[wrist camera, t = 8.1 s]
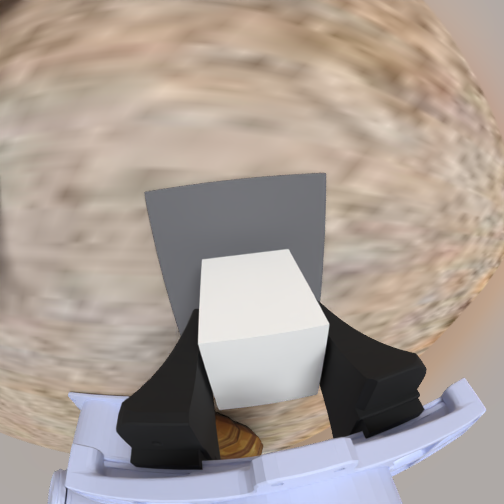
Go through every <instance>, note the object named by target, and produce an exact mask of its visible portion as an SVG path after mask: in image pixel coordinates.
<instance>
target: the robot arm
mask: <svg viewBox="0 0 504 504" xmlns="http://www.w3.org/2000/svg"><path fill="white" fill-rule="evenodd" d="M316 300H317V299H316ZM317 302H318V304H319V306H320V307H321V309H322V311H323V313H324V315H325V317H326V319H327V321H328V322H329V331H328V337H327V344H326V350H325V356H324V362H323V368H322V373H321V378H320V387H321V391H322V394H323V398H324V401H325V405H326V409H327V413H328V417H329V421H330V425H331V429H332V434H333V439H329V440H325V441H322V442H318V443H314V444H310V445H305V446H301V447H296V448H291V449H286V450H281V451H275V452H271V453H267V454H262V455H260V456H254V457H246V458H237V459H225V460H221V457H220V451H219V444H218V437H217V429H216V420H215V410H214V399H213V391H212V388H211V385H210V382H209V378H208V375H207V372H206V369H205V365H204V362H203V359H202V355H201V352H200V349H199V345H198V329H199V309H194V310H193V311H192V314H191V317H190V319H189V321H188V323H187V325H186V328H185V330H184V331H183V333H182V335H181V337H180V339H179V341H178V342H177V344H176V346H175V347H174V349H173V351H172V352H171V354H170V355H169V357H168V358H167V359H166V361H165V362H164V363H163V365H162V366H161V367H160V368H159V370H158V371H157V372H156V373H155V374H154V375H153V376H152V377H151V379H149V380H148V381H147V382H146V383H145V384H144V385H143V386H142V387H141V388H140V389H139V390H138V391H137V392H135V393H134V394H133V395H131V396H130V397H128V396H109V395H95V394H84V393H74V392H69V393H68V396H69V398H70V399H71V400H72V401H73V402H74V403H75V405H76V406H77V407H78V408H79V409H80V410H81V412H80V415H79V419H78V423H77V427H76V431H75V435H74V440H73V444H72V448H71V452H70V457H69V463H68V468H67V469H66V470H62V469H59V470H57V471H55V472H54V473H53V476H52V479H51V484H50V489H49V495H48V504H402V501H401V499H400V496H399V494H398V491H397V488H396V486H395V484H394V481H393V479H392V476H394V475H396V474H398V473H400V472H402V471H404V470H406V469H407V468H410V467H411V466H413V465H415V464H417V463H418V462H420V461H422V460H424V459H425V458H427V457H429V456H430V455H432V454H434V453H435V452H437V451H438V450H440V449H441V448H443V447H445V446H446V445H448V444H449V443H451V442H452V441H454V440H455V439H456V438H458V437H460V436H461V435H462V434H463V433H465V432H466V431H467V430H468V429H469V428H470V427H471V426H472V425H473V424H474V423H475V422H476V421H477V420H478V419H479V418H480V417H481V416H482V415H483V414H484V413H485V412H486V408H485V407H484V405H483V404H482V402H481V401H480V399H479V398H478V396H477V395H476V394H475V392H474V390H473V389H472V387H471V386H470V385H469V383H468V382H467V381H466V379H465V378H463V379H460V380H459V381H457V382H455V383H454V384H452V385H450V386H449V387H448V388H447V389H446V390H445V391H444V392H443V394H442V396H441V397H439V398H437V399H435V400H434V401H432V402H430V403H428V404H426V405H424V406H422V404H421V402H420V401H419V399H418V397H419V396H420V394H419V392H418V390H417V388H418V387H419V385H420V384H421V382H422V380H423V379H424V377H425V374H426V367H425V365H424V364H423V363H422V361H421V359H420V358H419V357H418V356H417V354H415V353H412V352H408V351H404V350H400V349H397V348H394V347H391V346H388V345H386V344H383V343H381V342H378V341H376V340H374V339H372V338H370V337H368V336H366V335H364V334H362V333H361V332H359V331H357V330H355V329H354V328H352V327H351V326H349V325H348V324H346V323H345V322H344V321H342V320H341V319H339V318H338V317H337V316H336V315H334V314H333V313H332V312H331V311H329V310H328V309H327V308H326V307H325V306H324V305H322V304H321V303H320V302H319V301H318V300H317Z"/></svg>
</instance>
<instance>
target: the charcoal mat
mask: <svg viewBox="0 0 504 504" xmlns="http://www.w3.org/2000/svg"><path fill="white" fill-rule="evenodd" d="M145 199H146V204H147V209H148V214H149V219H150V223H151V228H152V233H153V237H154V241H155V246H156V250H157V254H158V258H159V262H160V266H161V270H162V274H163V278H164V281H165V285H166V289H167V292H168V296H169V299H170V303H171V306H172V310H173V313H174V316H175V319H176V323H177V326H178V329H179V332H180V335H182V333H183V331H184V330H185V328H186V325H187V323H188V321H189V319H190V317H191V314H192V311H193V310H194V309H199V304H200V285H201V268H202V259H210V258H218V257H226V256H235V255H243V254H251V253H259V252H268V251H276V250H284V249H289V251H290V253H291V255H292V256H293V258H294V260H295V262H296V263H297V265H298V267H299V269H300V271H301V272H302V274H303V276H304V278H305V280H306V282H307V283H308V285H309V287H310V289H311V291H312V293H313V294H314V296H315V298H316V299H317V300H318V301H319V302H320V297H321V285H322V272H323V257H324V239H325V213H326V173H311V174H293V175H278V176H266V177H254V178H244V179H234V180H225V181H216V182H208V183H200V184H193V185H186V186H179V187H172V188H166V189H159V190H153V191H147V192H145Z"/></svg>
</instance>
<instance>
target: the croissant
mask: <svg viewBox="0 0 504 504" xmlns="http://www.w3.org/2000/svg"><path fill="white" fill-rule="evenodd" d="M215 420H216V429H217V437H218V444H219V451H220V457H221V460H225V459H237V458H246V457H254V456H260V455H261V453H262V449H263V444H262V443H261V440H260V439H259V437H258V436H257V435H256V434H255V433H254V432H253V431H252V430H251V429H250V428H249V427H247V426H244V425H242V424H239V423H237V422H234V421H232V420H231V419H230V418H228V417H225V416H223V415H220V414H218V413H215Z"/></svg>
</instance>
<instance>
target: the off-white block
mask: <svg viewBox="0 0 504 504" xmlns="http://www.w3.org/2000/svg"><path fill="white" fill-rule="evenodd" d="M328 331H329V322H328V321H327V319H326V317H325V315H324V313H323V311H322V309H321V307H320V306H319V304H318V302H317V300H316V298H315V296H314V294H313V293H312V291H311V289H310V287H309V285H308V283H307V282H306V280H305V278H304V276H303V274H302V272H301V271H300V269H299V267H298V265H297V263H296V262H295V260H294V258H293V256H292V255H291V253H290V251H289V249H284V250H276V251H268V252H259V253H251V254H243V255H235V256H226V257H218V258H210V259H202V268H201V285H200V304H199V329H198V345H199V349H200V352H201V355H202V359H203V362H204V365H205V369H206V372H207V375H208V378H209V382H210V385H211V388H212V391H213V394H214V397H215V400H216V403H217V406H218V409H219V410H225V409H235V408H243V407H251V406H258V405H265V404H271V403H277V402H283V401H288V400H293V399H298V398H303V397H308V396H312V395H316V394H318V389H319V384H320V378H321V373H322V368H323V362H324V356H325V350H326V344H327V337H328Z"/></svg>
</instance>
